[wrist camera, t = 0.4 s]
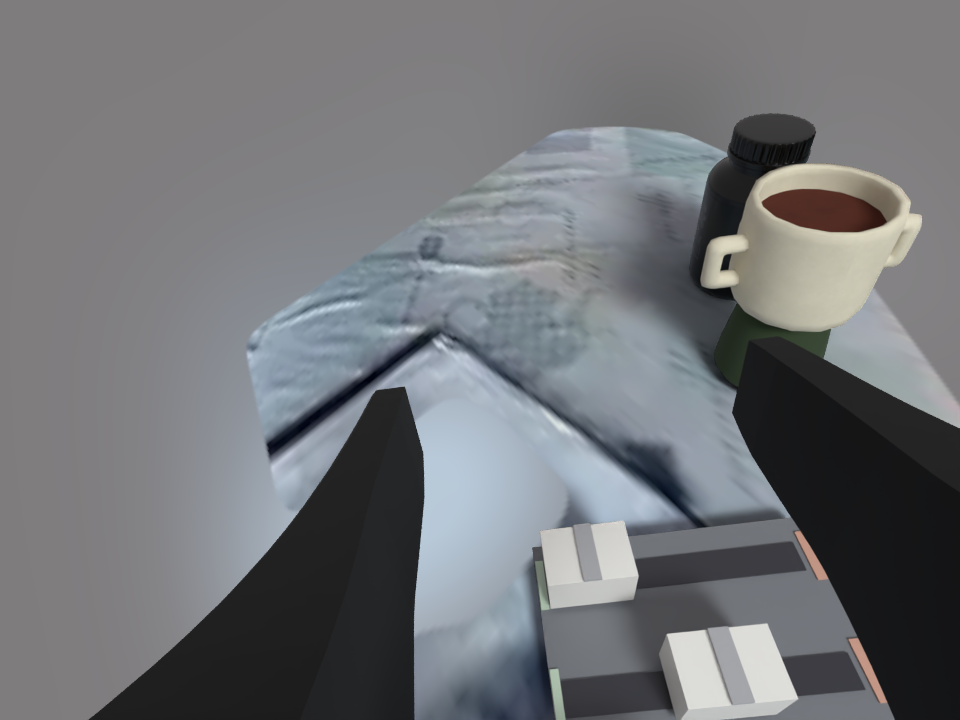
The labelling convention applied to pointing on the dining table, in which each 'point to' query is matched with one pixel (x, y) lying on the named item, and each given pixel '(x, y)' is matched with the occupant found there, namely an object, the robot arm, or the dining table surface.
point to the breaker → (588, 564)
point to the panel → (709, 625)
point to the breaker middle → (725, 673)
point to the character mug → (806, 255)
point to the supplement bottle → (745, 179)
